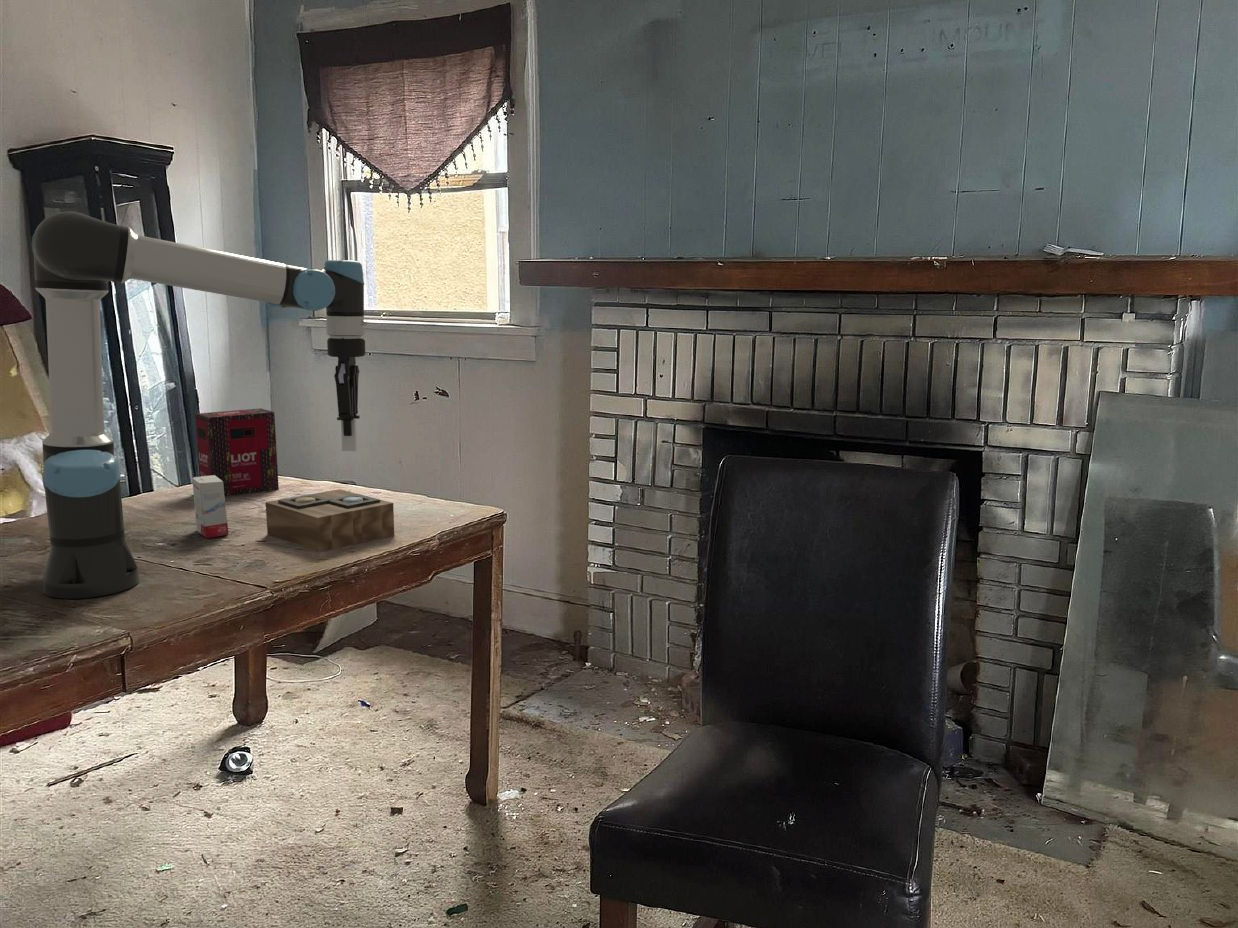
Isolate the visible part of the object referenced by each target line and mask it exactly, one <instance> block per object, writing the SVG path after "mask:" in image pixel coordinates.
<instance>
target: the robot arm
mask: <svg viewBox="0 0 1238 928" xmlns="http://www.w3.org/2000/svg"><path fill="white" fill-rule="evenodd" d="M31 250H32V254H33V265H34V266H33V268H34V269H33V270H34V286H35V287H34V288H35V290H36V292H38V293H39V294H40V295H41V296H42V297H43V298H44V300H45V314H46V315H45V317H46V318H45V319H46V338H47V359H48V363H47V364H48V382H49V383H48V385H49V387H48V389H49V405H50V408H49V409H50V426H51V429H50V433H49V434H48V435H47V436H46V437H45V438H44V439H43V440H42V445H41V446H42V464H43V467H42V474H41V475H42V477H41V478H42V486H43V489H44V493H45V496H44V497H45V505H46V515H47V524H48V534H49V543H50V546H49V548H50V549H49V553H48V557H47V560H46V564H45V568H44V571H43V572H44V573H43V574H42V575H43V577H42V591H43V594H44V595H46V596H48V597H51V598H56V599H64V600H65V599H87V598H89V599H90V598H96V597H102V596H103V597H104V596H108V595H113V594H117V593H120V592H123V591H126V590H129V589H131V588H133V587H135V586H136V585H137V584H139V582H140V572H139V571H140V570H139V567H138V564H137V562H136V560H135V559H134V556H133V554H132V552H131V549H130V547H129V546H128V543H127V540H126V535H125V521H124V512H123V502H122V487H121V476H122V475H121V474H122V473H121V468H120V467H119V462H118V459H117V458H116V456H115V445H114V444H115V443H114V441H115V440H114V439H113V438H112V437H111V436H110V435H108V434H107V432H106V431H105V421H104V420H105V418H104V416H105V414H104V413H105V412H104V392H103V387H104V385H103V365H102V364H103V361H102V360H103V357H102V336H101V335H102V333H101V331H102V330H101V329H102V328H101V307H100V306H101V305H100V304H101V303H100V301H101V300H102V298H104V297H105V296H106V295H107V294H108V293H109V282H114V283H119V284H124V283H126V282H128V281H129V280H137V281H141V282H149V283H155V284H160V285H164V286H165V285H166V286H172V287H176V288H183V289H189V290H194V291H200V292H205V293H211V294H216V295H224V296H229V297H235V298H239V299H240V298H241V299H247V300H252V301H257V302H258V301H259V302H264V303H265V305H266V306H267V307H270V308H279V309H285V308H289V309H291V308H292V309H293V308H295V309H301V310H307V311H312V312H317V311H320V310H324V309H325V311H326V313H325V314H326V315H325V317H326V318H325V320H326V323H325V324H326V335H328V336H329V337H328V339H326V344H327V350H326V351H327V355H328V356H329V357H333V358H334V357H335V358H337V365H335V373H334V376H333V377H334V381H335V382H334V383H335V387H336V389H335V391H336V398H337V412H338V413H337V415H338V416H337V417H336V420H337V421H340V422H341V423H340V425H341V426H340V427H341V451H342V452H356V451H357V447H358V446H357V444H358V443H357V419H358V420H359V419H360V417H361V416H360V415H358V413H359V408H358V407H359V406H358V405H359V375H360V369H359V364H356V363H357V362H356V358H361V357H364V356H365V355H366V339H365V338H363V337H362V336H364V335H365V333H366V332H365V331H366V330H365V327H366V326H367V325H368V321H367V320H365V288H364V287H365V281H364V272H363V271H364V269H363V265H362V263H361V262H360V261H357V260H349V259H348V260H345V259H344V260H343V259H341V260H339V259H338V260H337V259H336V260H335V259H333V260H332V259H327V260H325V262H324V267H323V269H317V268H306V267H302V266H301V267H300V266H297V265H289V264H285V263H281V262H275V261H271V260H266V259H261V258H255V257H250V256H246V255H240V254H236V253H230V252H226V251H221V250H220V251H219V250H215V249H211V248H205V247H201V246H195V245H190V244H184V243H180V242H174V241H170V240H165V239H164V240H163V239H160V238H154V237H150V236H149V237H148V236H144V235H140V234H136V233H135V232H134V231H133V229H132V228H131V227H129V226H124V225H119V224H114V223H111V222H108V221H104V220H101V219H98V218H96V217H92V216H90V215H87V214H84V213H81V212H78V211H70V210H69V211H67V210H65V211H59V212H56V213H53V214H51V215H49V216H47V217H46V218H44V219H43V220H42V221H41V222H40V223H39V224H38V226H37V227H36V229H35V231H34V232H33V234H32V238H31Z"/></svg>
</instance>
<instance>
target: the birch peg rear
mask: <svg viewBox="0 0 1238 928" xmlns="http://www.w3.org/2000/svg"><path fill="white" fill-rule="evenodd" d="M295 501H296V502H297V503H300V504H302V503H308V502H313V501H315V498H312V497H303V498H298V499H296V500H295Z"/></svg>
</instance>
